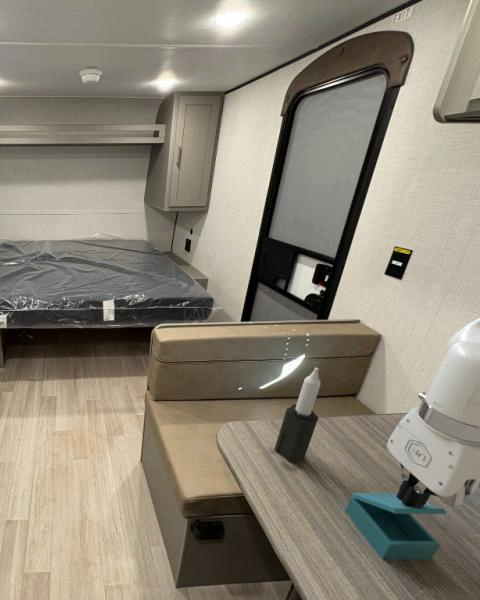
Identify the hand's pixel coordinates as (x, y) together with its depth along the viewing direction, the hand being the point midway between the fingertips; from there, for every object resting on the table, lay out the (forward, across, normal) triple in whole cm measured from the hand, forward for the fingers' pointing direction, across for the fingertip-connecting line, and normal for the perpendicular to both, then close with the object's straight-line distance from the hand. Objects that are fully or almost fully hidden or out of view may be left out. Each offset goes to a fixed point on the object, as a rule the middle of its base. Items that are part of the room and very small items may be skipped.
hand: (408, 501), depth 56 cm
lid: (+3, -1, 0) cm, 3 cm away
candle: (+10, -19, -7) cm, 23 cm away
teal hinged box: (+10, -1, 0) cm, 10 cm away
